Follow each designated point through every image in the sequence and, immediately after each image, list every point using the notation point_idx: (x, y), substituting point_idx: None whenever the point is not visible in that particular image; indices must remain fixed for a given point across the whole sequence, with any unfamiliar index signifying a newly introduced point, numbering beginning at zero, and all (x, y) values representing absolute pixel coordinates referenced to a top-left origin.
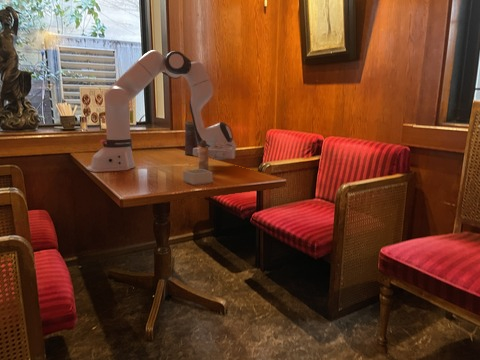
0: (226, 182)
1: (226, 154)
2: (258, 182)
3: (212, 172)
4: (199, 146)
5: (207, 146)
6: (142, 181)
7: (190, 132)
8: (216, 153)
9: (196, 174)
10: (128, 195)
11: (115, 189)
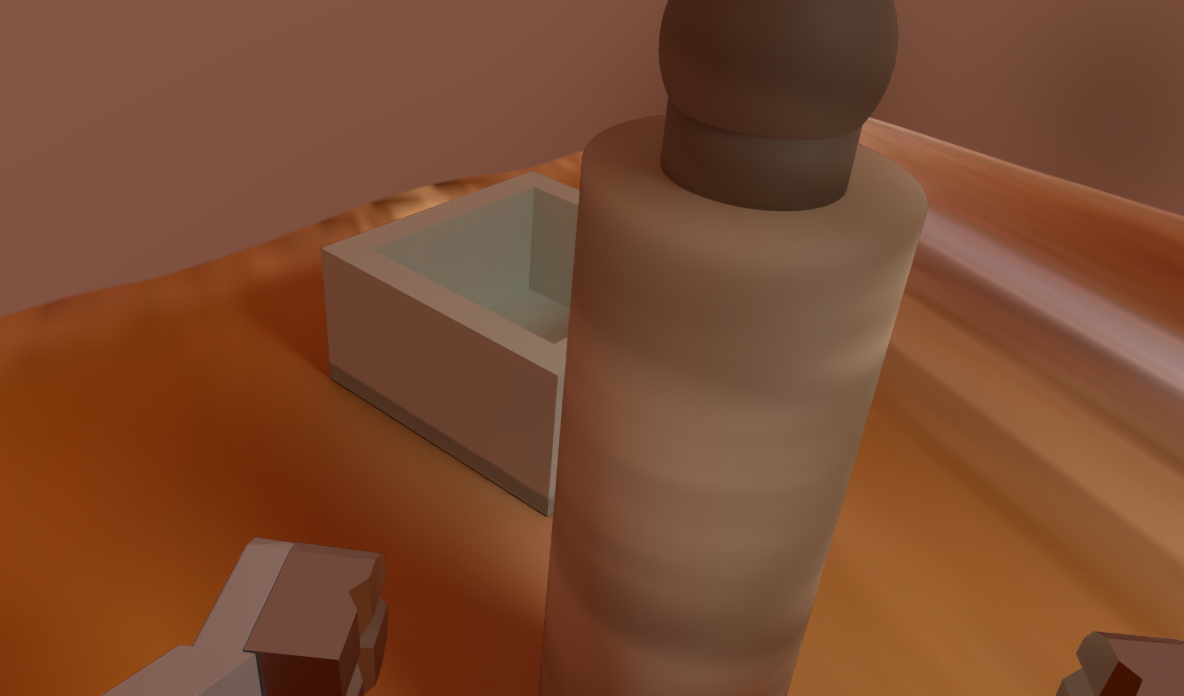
0: (125, 417)
1: None
2: None
3: (322, 253)
4: (917, 196)
5: (661, 222)
6: (1114, 324)
7: None
8: (316, 545)
9: (502, 187)
10: None
11: (1026, 175)
